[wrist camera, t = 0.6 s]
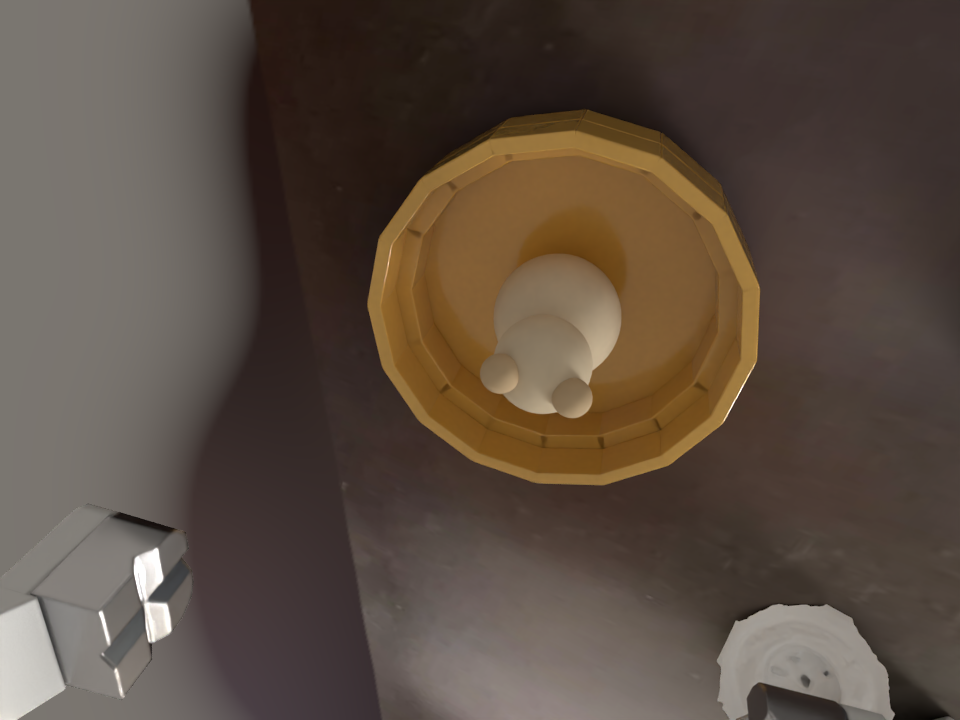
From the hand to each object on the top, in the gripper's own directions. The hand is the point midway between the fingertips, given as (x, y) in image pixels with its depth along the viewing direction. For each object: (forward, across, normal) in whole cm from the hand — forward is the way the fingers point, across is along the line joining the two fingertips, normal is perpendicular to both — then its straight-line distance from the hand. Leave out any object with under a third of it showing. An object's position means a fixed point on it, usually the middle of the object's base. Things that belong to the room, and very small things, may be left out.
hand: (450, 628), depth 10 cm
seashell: (+23, -15, +23) cm, 36 cm away
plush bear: (+22, 0, +5) cm, 23 cm away
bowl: (+23, 0, +5) cm, 23 cm away
